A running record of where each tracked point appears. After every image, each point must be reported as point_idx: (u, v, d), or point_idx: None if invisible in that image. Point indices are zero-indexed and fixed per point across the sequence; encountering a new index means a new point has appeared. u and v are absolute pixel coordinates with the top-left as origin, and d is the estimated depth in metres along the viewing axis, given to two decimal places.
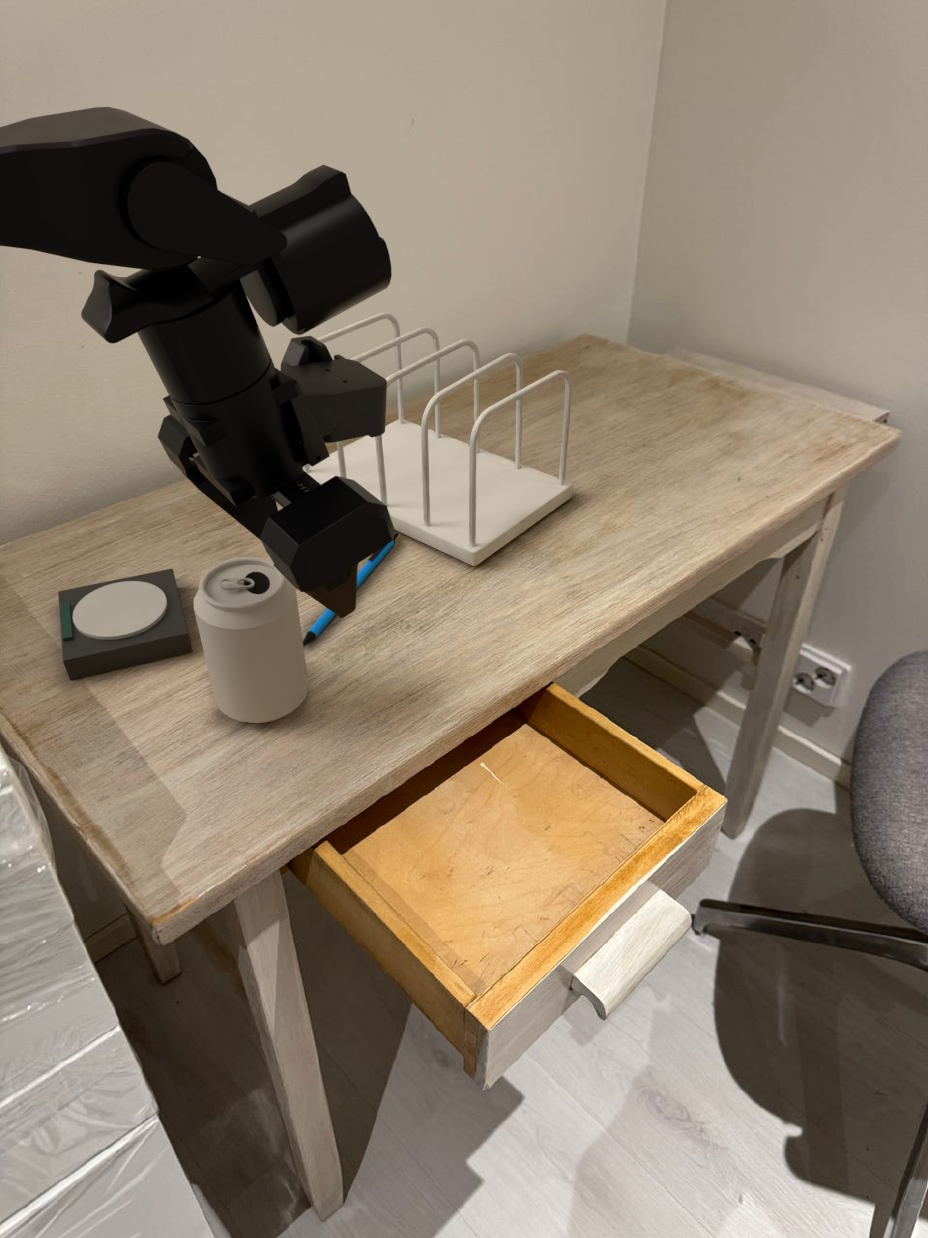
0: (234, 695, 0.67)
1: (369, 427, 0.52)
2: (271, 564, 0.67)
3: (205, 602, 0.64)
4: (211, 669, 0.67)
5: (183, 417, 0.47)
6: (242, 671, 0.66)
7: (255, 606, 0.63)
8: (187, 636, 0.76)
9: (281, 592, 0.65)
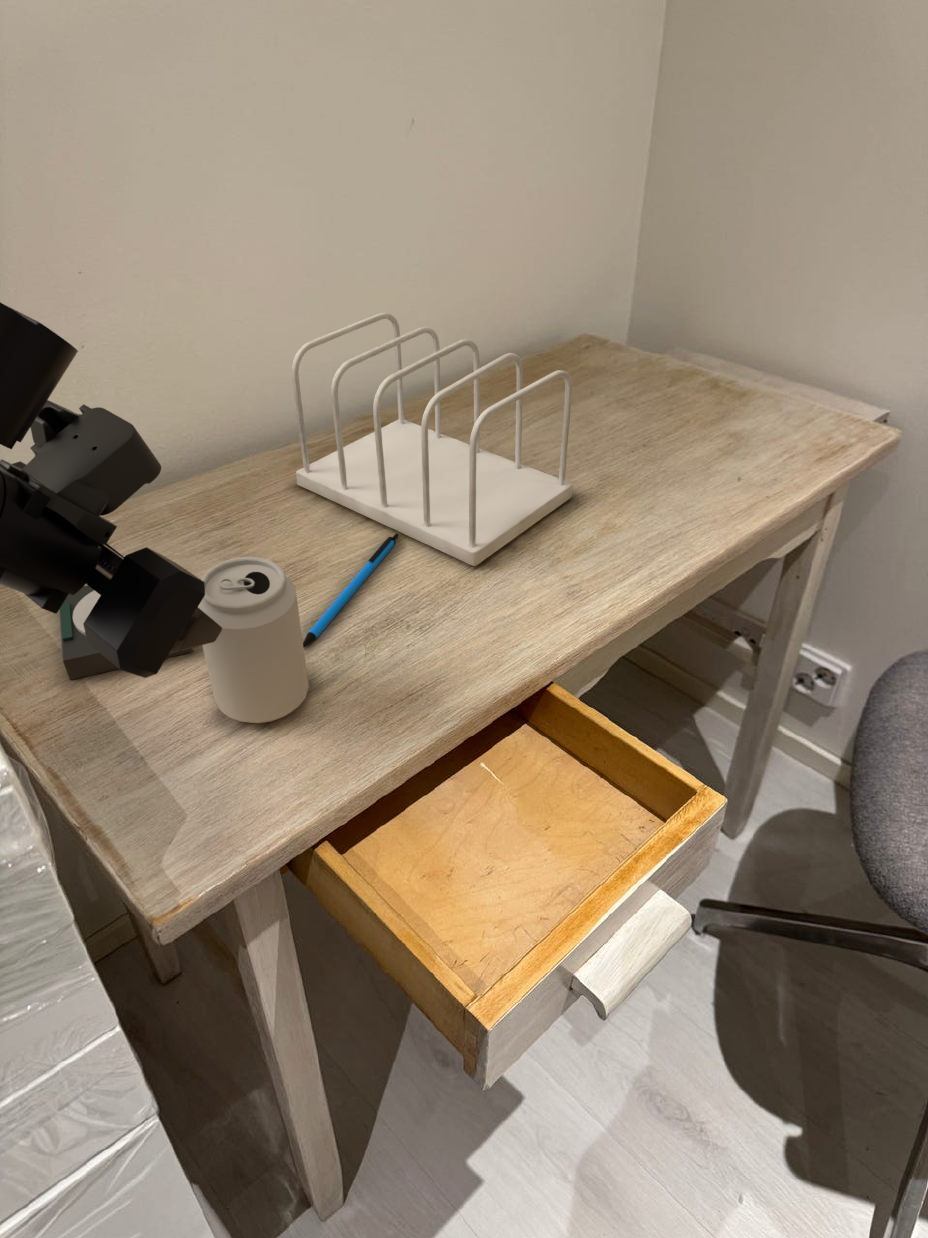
0: (234, 695, 0.67)
1: (142, 477, 0.51)
2: (271, 564, 0.67)
3: (205, 602, 0.64)
4: (211, 669, 0.67)
5: None
6: (242, 671, 0.66)
7: (255, 606, 0.63)
8: None
9: (281, 592, 0.65)
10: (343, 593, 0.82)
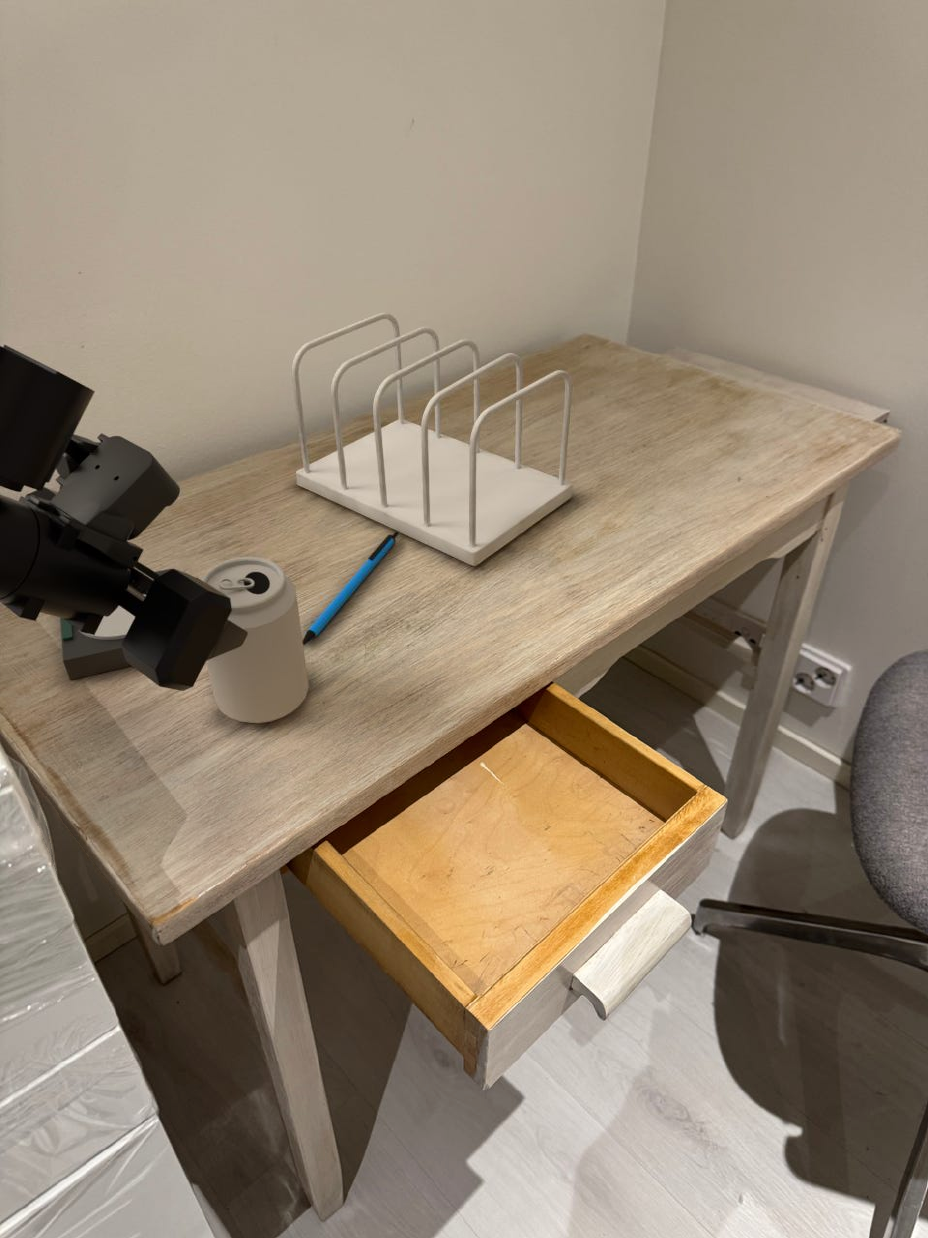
0: (234, 695, 0.67)
1: (162, 501, 0.54)
2: (271, 564, 0.67)
3: None
4: (211, 669, 0.67)
5: (1, 602, 0.50)
6: (242, 671, 0.66)
7: (255, 606, 0.63)
8: None
9: (281, 592, 0.65)
10: (343, 591, 0.82)
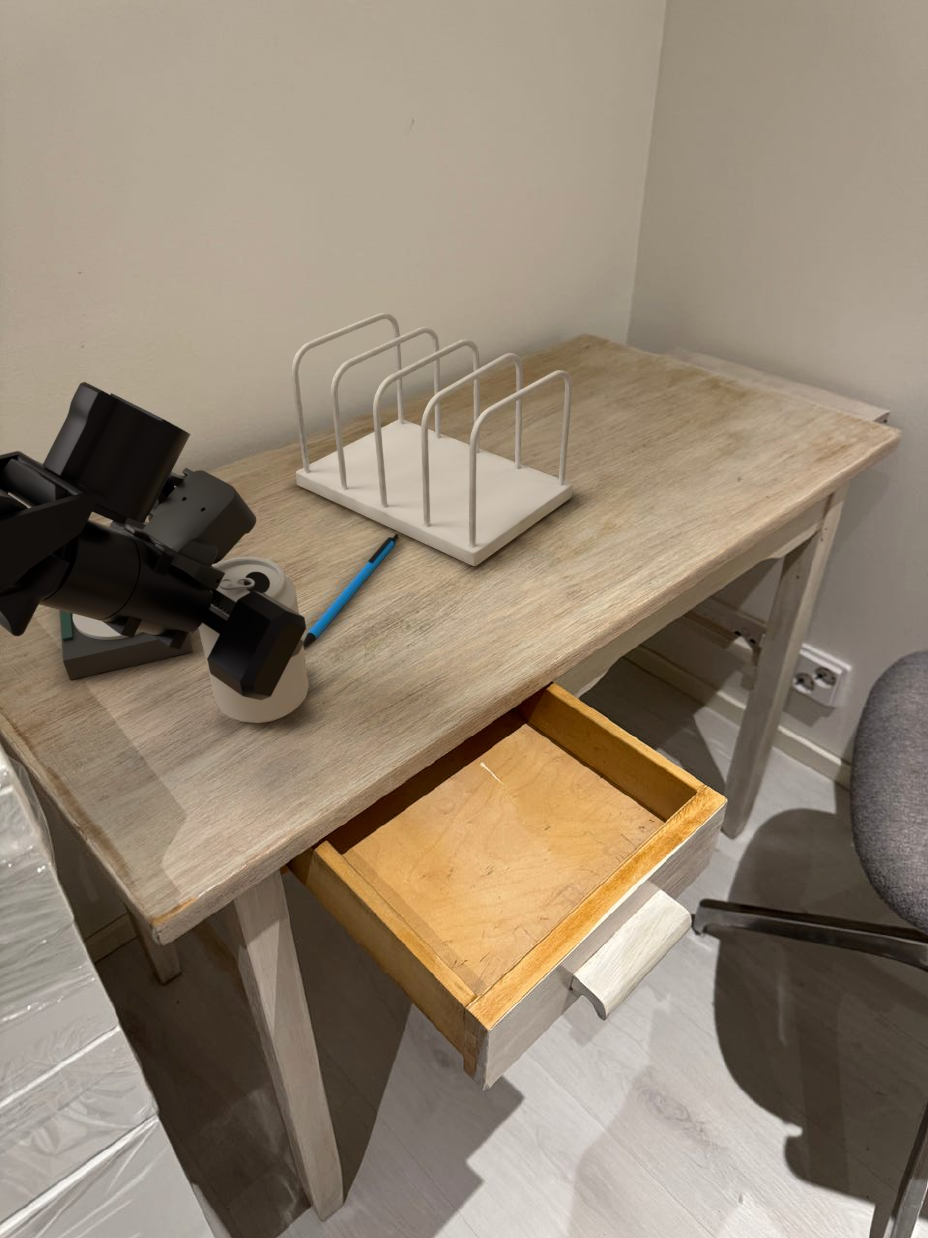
0: (234, 695, 0.67)
1: (242, 529, 0.60)
2: (271, 564, 0.67)
3: None
4: None
5: (102, 621, 0.56)
6: None
7: None
8: (187, 636, 0.76)
9: (281, 592, 0.65)
10: (343, 593, 0.82)
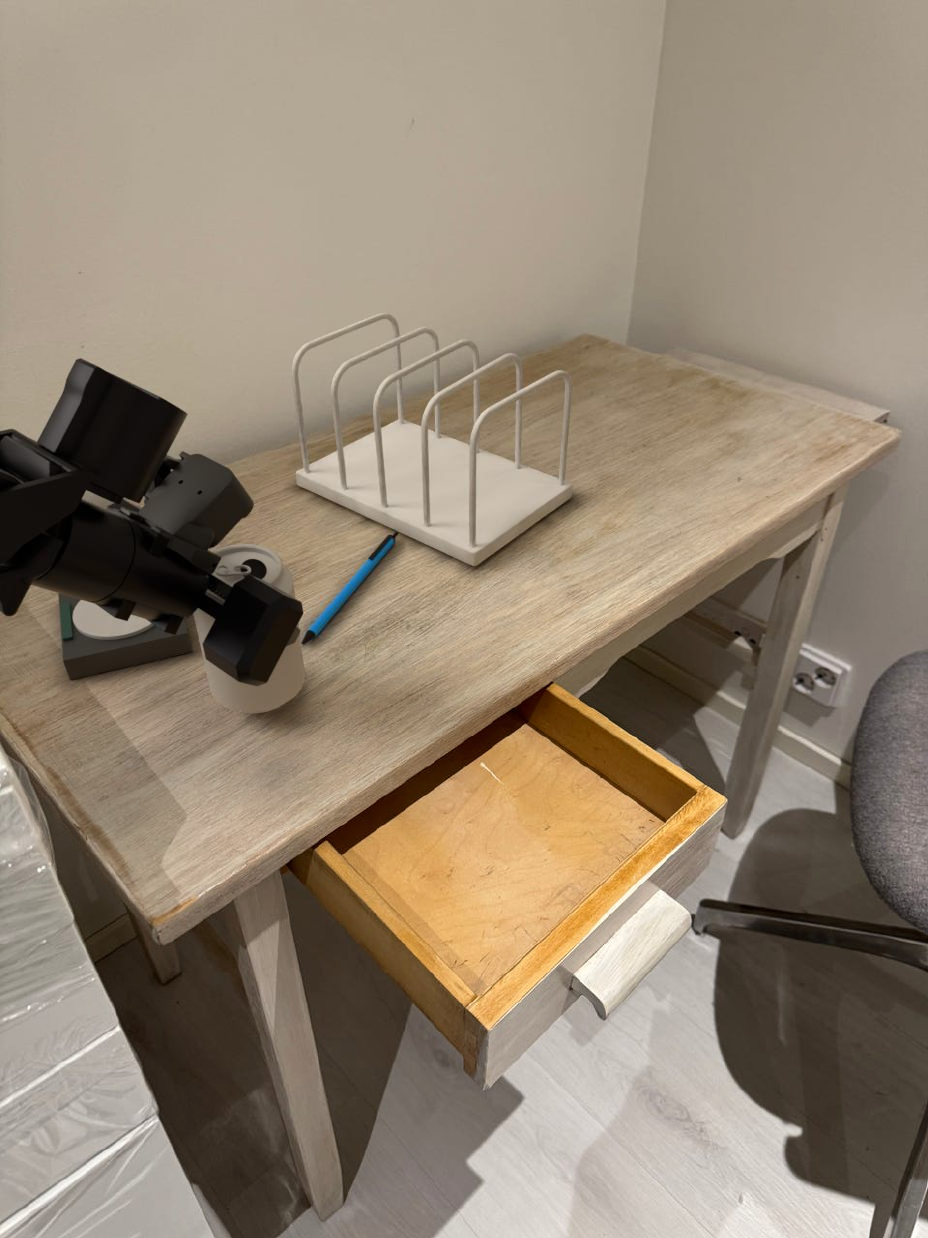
0: (229, 684, 0.67)
1: (239, 513, 0.59)
2: (268, 551, 0.66)
3: None
4: None
5: (96, 604, 0.55)
6: None
7: None
8: (187, 636, 0.76)
9: (278, 579, 0.64)
10: (343, 591, 0.82)
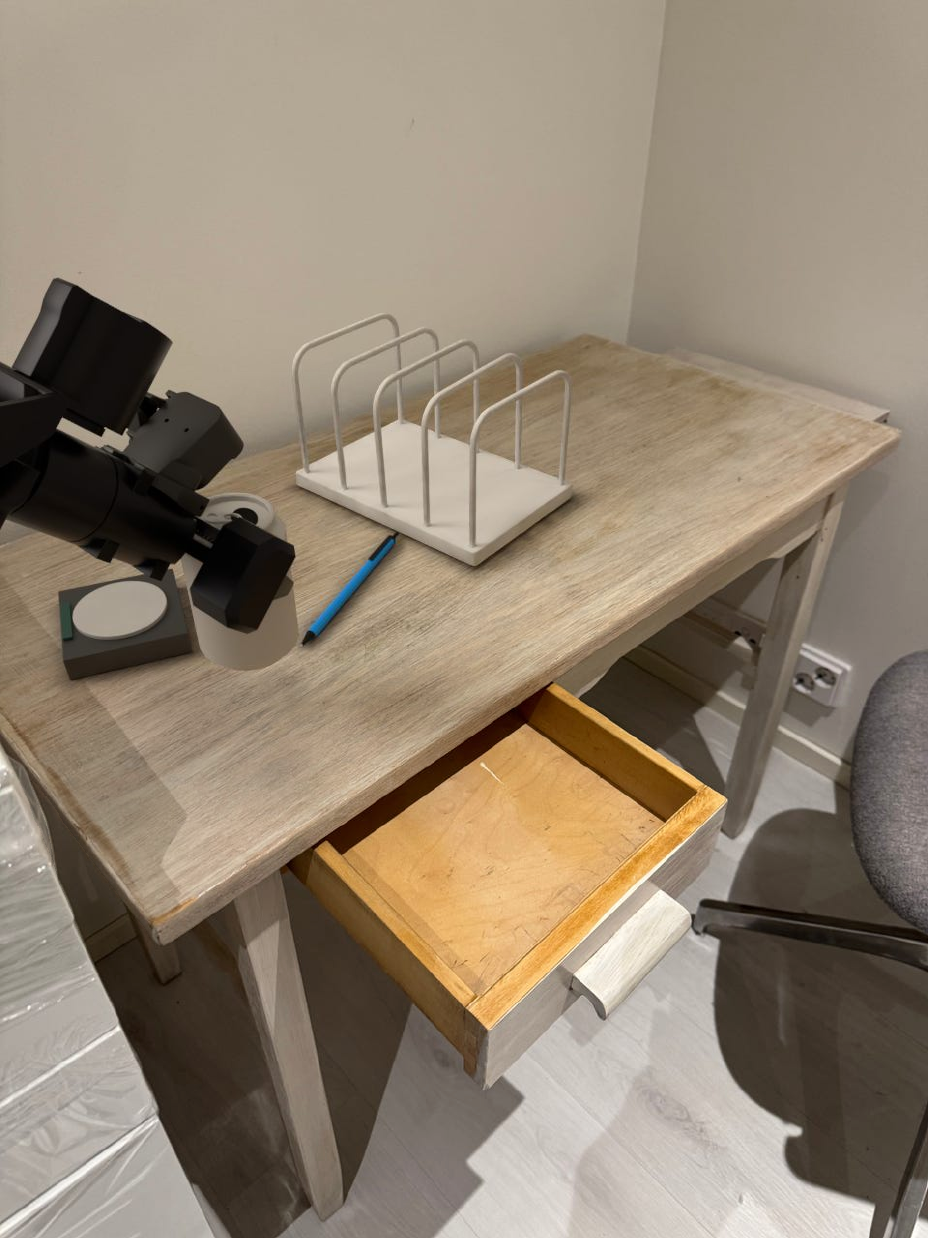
0: (220, 638, 0.64)
1: (228, 453, 0.56)
2: (260, 500, 0.63)
3: None
4: (196, 611, 0.64)
5: (77, 545, 0.53)
6: None
7: None
8: (187, 636, 0.76)
9: (270, 527, 0.61)
10: (343, 591, 0.82)
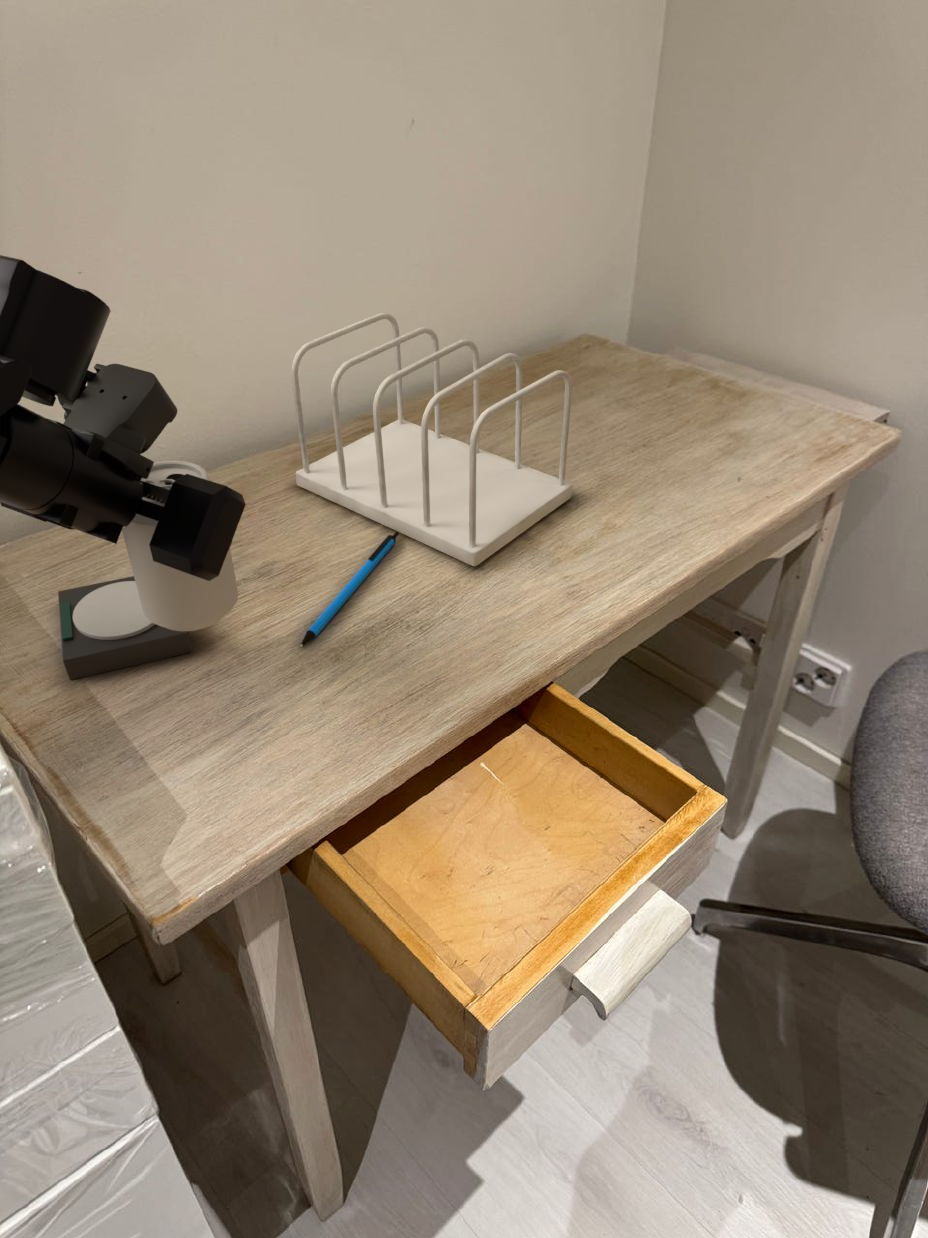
0: (168, 600, 0.67)
1: (165, 417, 0.60)
2: (190, 465, 0.67)
3: None
4: (140, 577, 0.67)
5: (36, 514, 0.55)
6: (176, 571, 0.66)
7: None
8: (187, 636, 0.76)
9: None
10: (343, 591, 0.82)
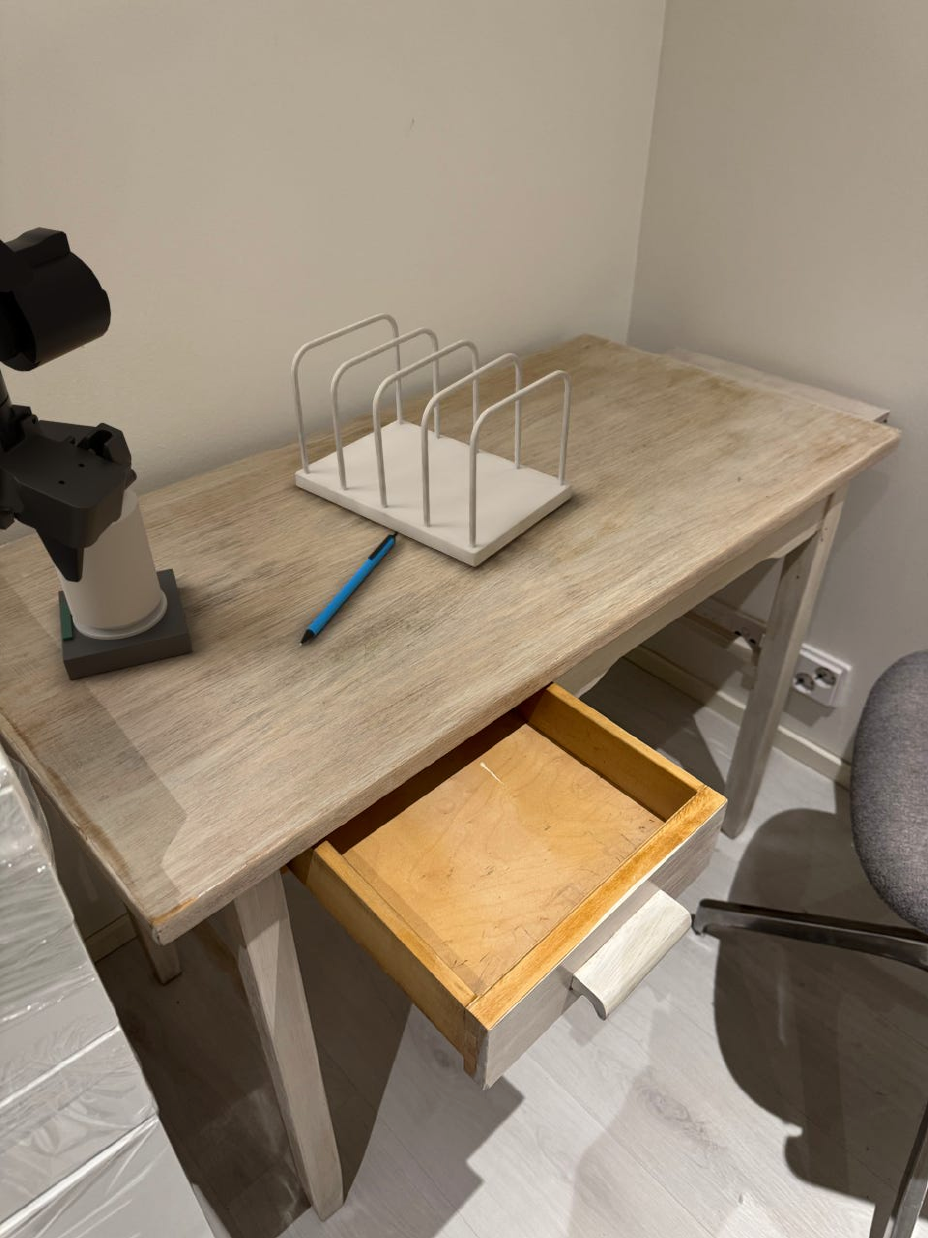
0: (102, 601, 0.72)
1: (59, 533, 0.51)
2: None
3: None
4: (73, 583, 0.71)
5: None
6: (108, 573, 0.71)
7: None
8: (187, 636, 0.76)
9: (125, 491, 0.71)
10: (342, 590, 0.82)
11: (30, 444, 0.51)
